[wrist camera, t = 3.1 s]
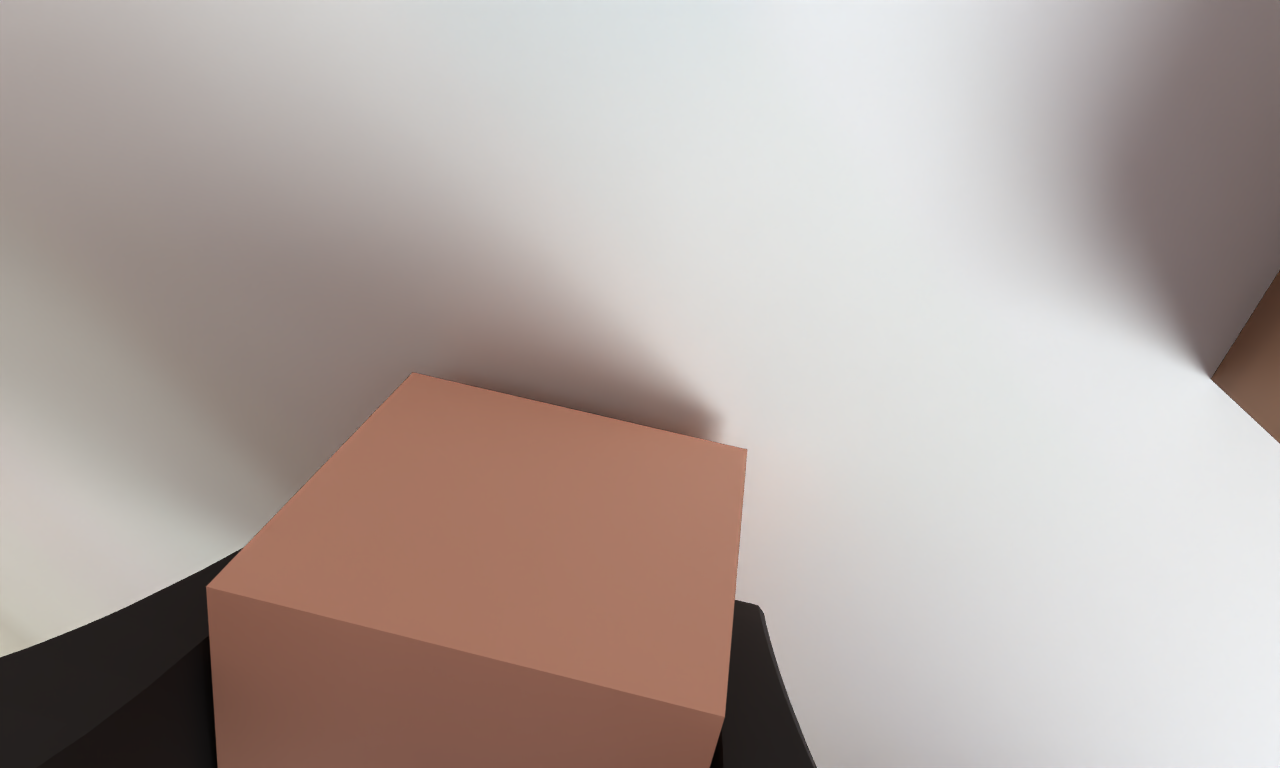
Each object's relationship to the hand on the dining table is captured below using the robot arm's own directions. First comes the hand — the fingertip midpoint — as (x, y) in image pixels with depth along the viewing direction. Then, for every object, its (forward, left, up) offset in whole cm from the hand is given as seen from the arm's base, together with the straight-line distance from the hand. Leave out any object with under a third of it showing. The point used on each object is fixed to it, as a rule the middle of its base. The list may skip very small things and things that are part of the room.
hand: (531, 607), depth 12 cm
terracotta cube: (0, 0, -1) cm, 1 cm away
